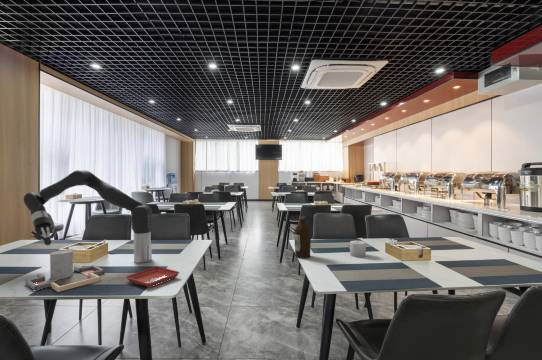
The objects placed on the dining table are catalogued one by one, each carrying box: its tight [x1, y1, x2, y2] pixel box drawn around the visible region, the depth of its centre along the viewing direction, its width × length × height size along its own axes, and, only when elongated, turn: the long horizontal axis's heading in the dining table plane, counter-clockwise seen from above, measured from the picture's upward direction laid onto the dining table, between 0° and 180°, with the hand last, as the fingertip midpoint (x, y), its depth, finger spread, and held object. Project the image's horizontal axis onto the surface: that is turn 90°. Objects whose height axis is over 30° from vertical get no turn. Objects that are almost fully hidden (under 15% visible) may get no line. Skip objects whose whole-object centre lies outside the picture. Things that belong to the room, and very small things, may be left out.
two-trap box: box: [25, 264, 105, 293], centre depth 144 cm, size 29×29×2 cm
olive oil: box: [293, 216, 312, 259], centre depth 184 cm, size 11×11×25 cm
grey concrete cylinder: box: [49, 249, 74, 280], centre depth 149 cm, size 10×10×12 cm
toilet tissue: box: [347, 240, 367, 258], centre depth 187 cm, size 9×13×9 cm
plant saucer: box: [125, 266, 180, 288], centre depth 143 cm, size 18×18×3 cm
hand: (48, 244), depth 161 cm, fingers closed
